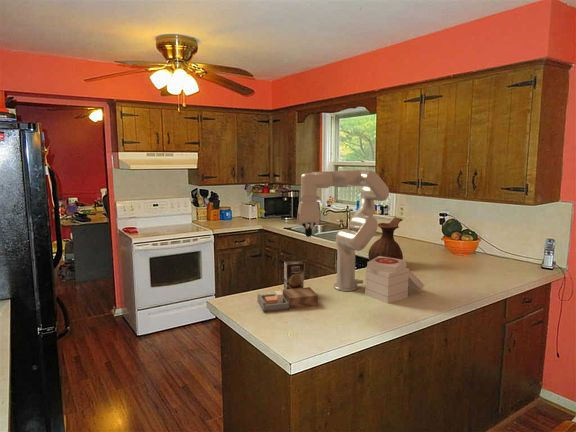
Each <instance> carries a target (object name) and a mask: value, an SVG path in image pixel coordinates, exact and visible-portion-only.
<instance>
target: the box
mask: <svg viewBox="0 0 576 432" xmlns="http://www.w3.org/2000/svg"><path fill="white" fill-rule="evenodd" d="M269 296H275V293H268V294H267V293H266V294H260V293H257V303H258V304H259V306H260V308H261V310H262V311H263V313H266V312H268V311H269V312H278V311H277V310H279V311H286V309H288V310H289V309H290V308H289V302H288V301H287V300H286V299H285V297H284V296H283V303H278V304H268V305H266V304H265V297H269Z"/></svg>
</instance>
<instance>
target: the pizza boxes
mask: <svg viewBox="0 0 576 432" xmlns="http://www.w3.org/2000/svg"><path fill="white" fill-rule="evenodd" d="M407 262H408V260H406V259H403V260H402V259H395V258H389V257H382V256H378V257H376V258H374V259H372V260H371V261H370V260H369V261H367V262H366V263H367V264H366V265H367V266H365V290H364V295H365V296H368V297H370V298H372V299H375V300H378V301H380V302H382V303H385V304H389V303H393V302H396V301H400V300H403V299H406V298H408V297H409V295H408V294H409V287H411V288H413V289H414V288H415V289H416V290H420V291H422V290H423V288H424V287H425V284H424V282H422V281H421V280H420V278H418V277H417V275H416V274H415V273H414V272H413V271H412V270H410V268H407Z"/></svg>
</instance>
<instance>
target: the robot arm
mask: <svg viewBox="0 0 576 432" xmlns="http://www.w3.org/2000/svg"><path fill="white" fill-rule="evenodd" d="M300 181H301V182H300V183H301V184H300V190H301V192H300V201H299V202H298V203H299V204H298V208H297V216H296V217H297V221H298V222H297V225H299V226H303V228H304V235H305V236H306V237H307V238H309V237H310V238H312V235H313V228H314V227H315V226H316V225H319V224H320V207H319V202H318V200H320V196H318V192H317V191H318V189H328V188H331V187H335V188H350V187H351V188H352V187H361V188H360V198H361V199H360V200H361V203H360V205H359V207H358V208H357V210H356V211H355V213H354V214H353V215H352V217H351V218H350V219H349V223H348V226H349V228H350V229H347V228H343V229H340V230H338V231H337V232H336V234H335V235H336V236H335V243H336V251H337V252H336V253H337V257H336V258H337V260H336V282H335V283H334V284H333V288H334V289H335V290H338V291H342V292H353V291H355V290H357V289H358V285H359V284H360V285H361V284H363V283H364V280H363V279H359V278H355V277H356V276H355V275H356V252H361V251H363V250H364V249H365V248H366V247H367V245H368V244H369V243H370V241H371V240H372V238H373V237H374V235H376V232H377V230H378V229H379V226H378V224H379V223H378V220H377V219H376V217H374V214H375V213H376V204H375V201H378V202H383V201H386V200H387V199H388V198H389V196H390V190H389V187H388V186H387V184H386V183H385V182H384V180H383V179H382V178H381V177H380V175H379V174H377V173H376V171H374V170H371V169H370V170H369V169H351V170H349V169H346V170H334V171H332V170H331V171H327V170H326V171H312V172H310V173H309V172H308V173H302V174H301V177H300ZM355 251H356V252H355Z"/></svg>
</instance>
